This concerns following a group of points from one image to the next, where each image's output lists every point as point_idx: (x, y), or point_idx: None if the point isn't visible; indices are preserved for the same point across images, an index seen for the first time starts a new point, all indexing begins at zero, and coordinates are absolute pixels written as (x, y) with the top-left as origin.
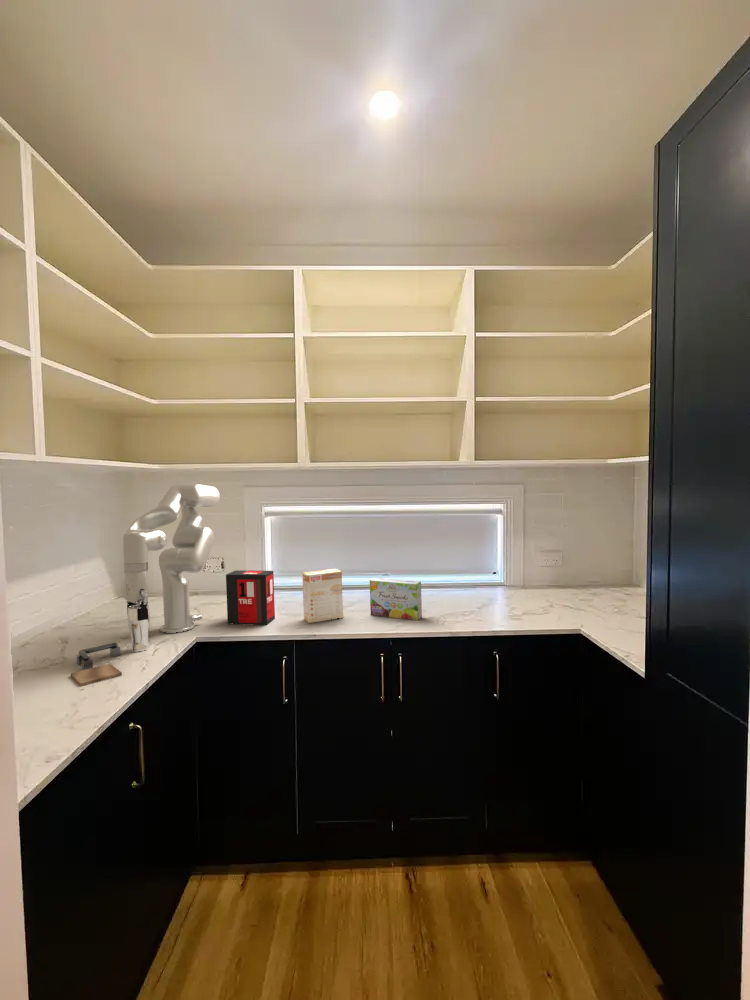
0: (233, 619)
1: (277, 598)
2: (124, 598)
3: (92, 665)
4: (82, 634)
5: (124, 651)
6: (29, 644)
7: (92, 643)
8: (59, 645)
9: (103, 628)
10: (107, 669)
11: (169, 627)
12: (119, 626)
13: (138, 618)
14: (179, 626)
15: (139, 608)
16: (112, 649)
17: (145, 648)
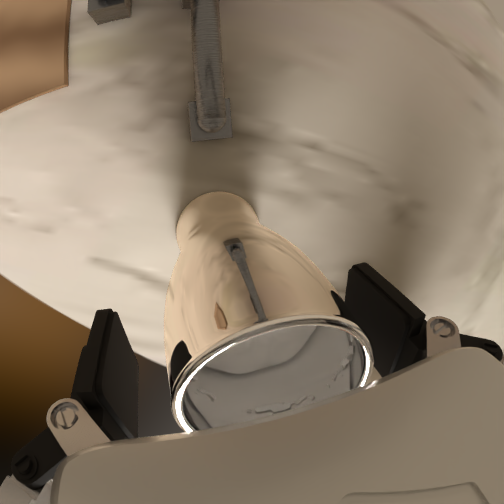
0: None
1: None
2: (468, 348)
3: (95, 20)
4: (497, 131)
5: (235, 166)
6: (489, 18)
7: (426, 108)
8: (458, 42)
9: (500, 191)
10: (7, 79)
11: None
12: (488, 230)
13: (94, 324)
14: None
15: (53, 407)
16: (188, 102)
17: (180, 250)
